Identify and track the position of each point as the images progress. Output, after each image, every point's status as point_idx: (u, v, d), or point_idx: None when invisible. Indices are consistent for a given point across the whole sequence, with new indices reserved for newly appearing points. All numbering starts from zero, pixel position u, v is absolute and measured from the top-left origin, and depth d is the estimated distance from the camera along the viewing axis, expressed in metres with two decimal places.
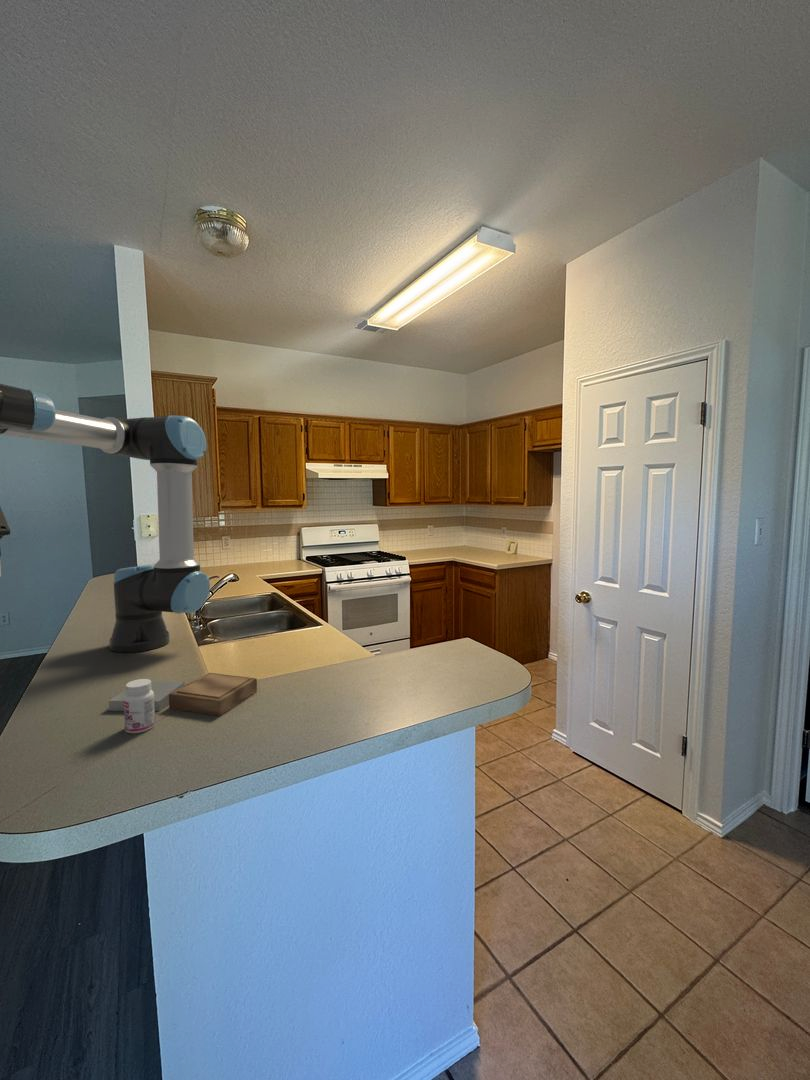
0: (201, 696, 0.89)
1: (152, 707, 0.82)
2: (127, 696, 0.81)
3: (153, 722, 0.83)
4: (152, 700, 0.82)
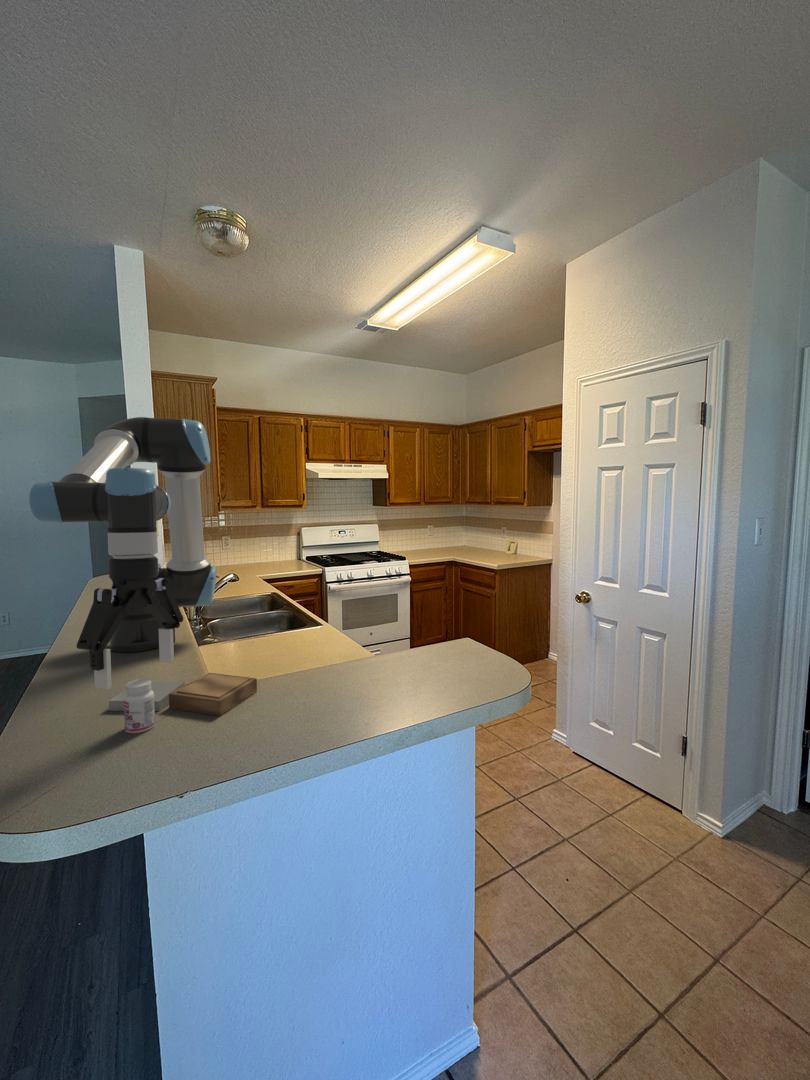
0: (201, 696, 0.89)
1: (152, 707, 0.82)
2: (127, 696, 0.81)
3: (153, 722, 0.83)
4: (152, 700, 0.82)
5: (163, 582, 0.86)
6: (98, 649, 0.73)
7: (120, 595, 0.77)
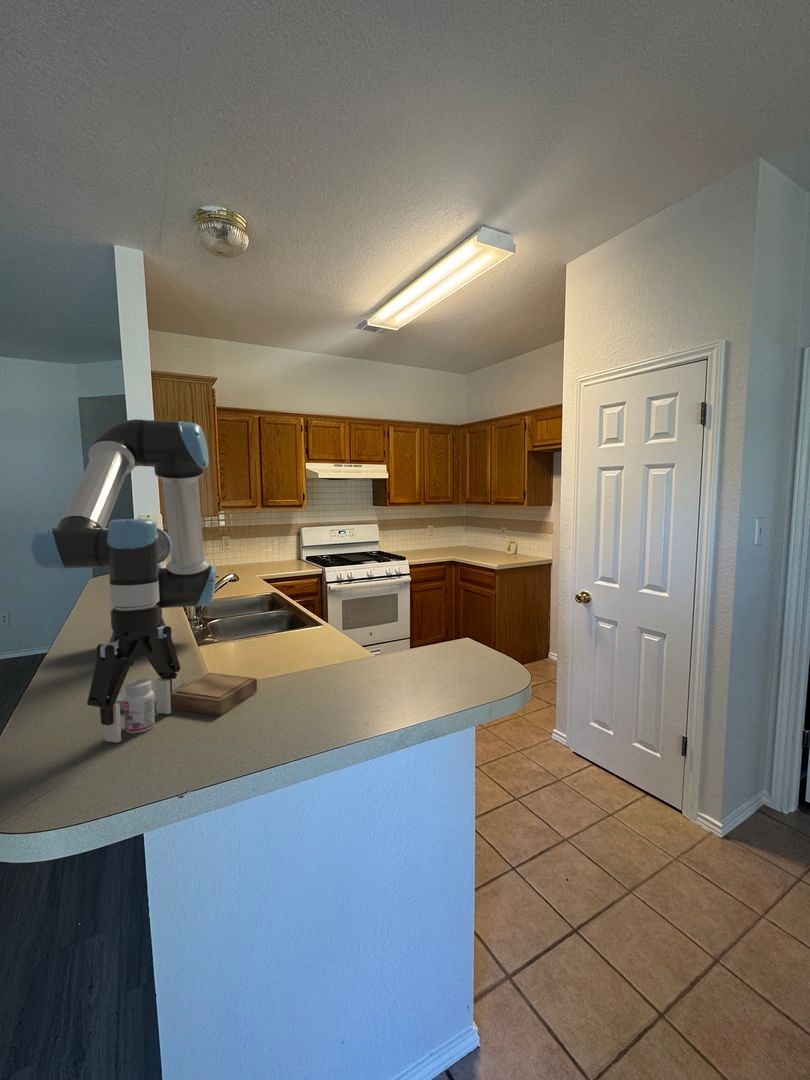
0: (201, 696, 0.89)
1: (152, 707, 0.82)
2: (127, 696, 0.81)
3: (153, 722, 0.83)
4: (152, 700, 0.82)
5: (165, 630, 0.87)
6: (108, 705, 0.75)
7: (123, 647, 0.78)
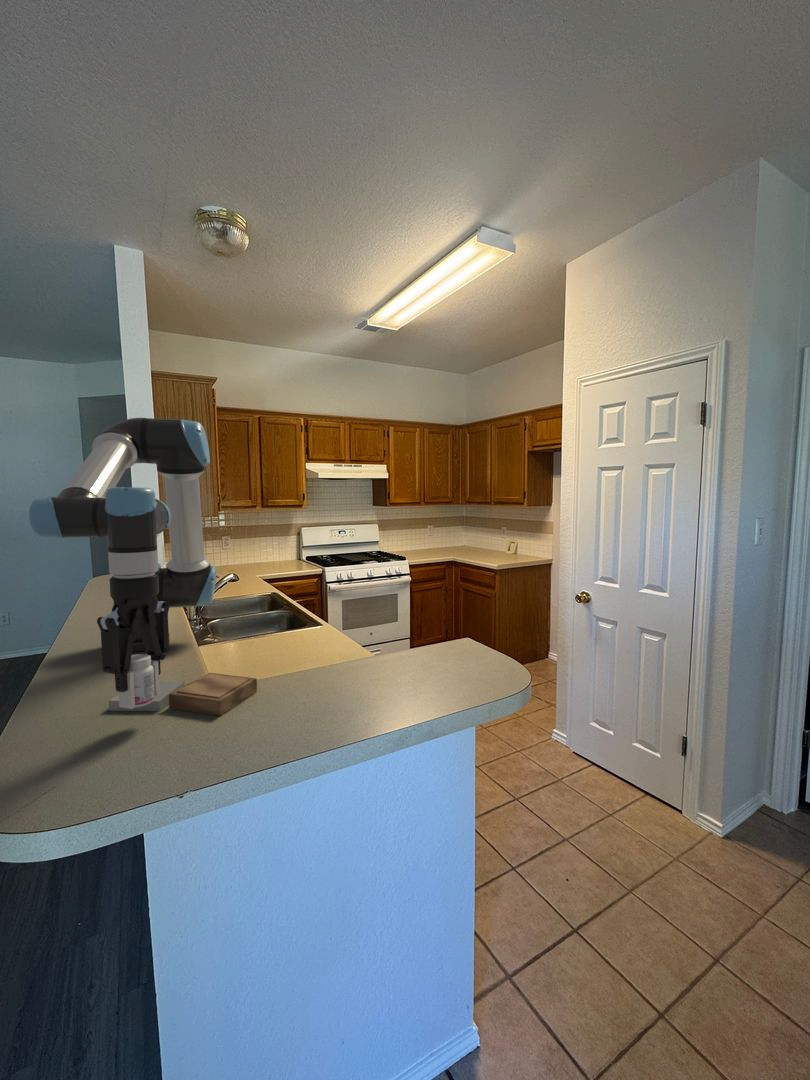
0: (201, 696, 0.89)
1: (152, 682, 0.83)
2: None
3: (153, 697, 0.83)
4: (152, 675, 0.83)
5: (163, 604, 0.86)
6: (123, 673, 0.78)
7: (123, 616, 0.78)
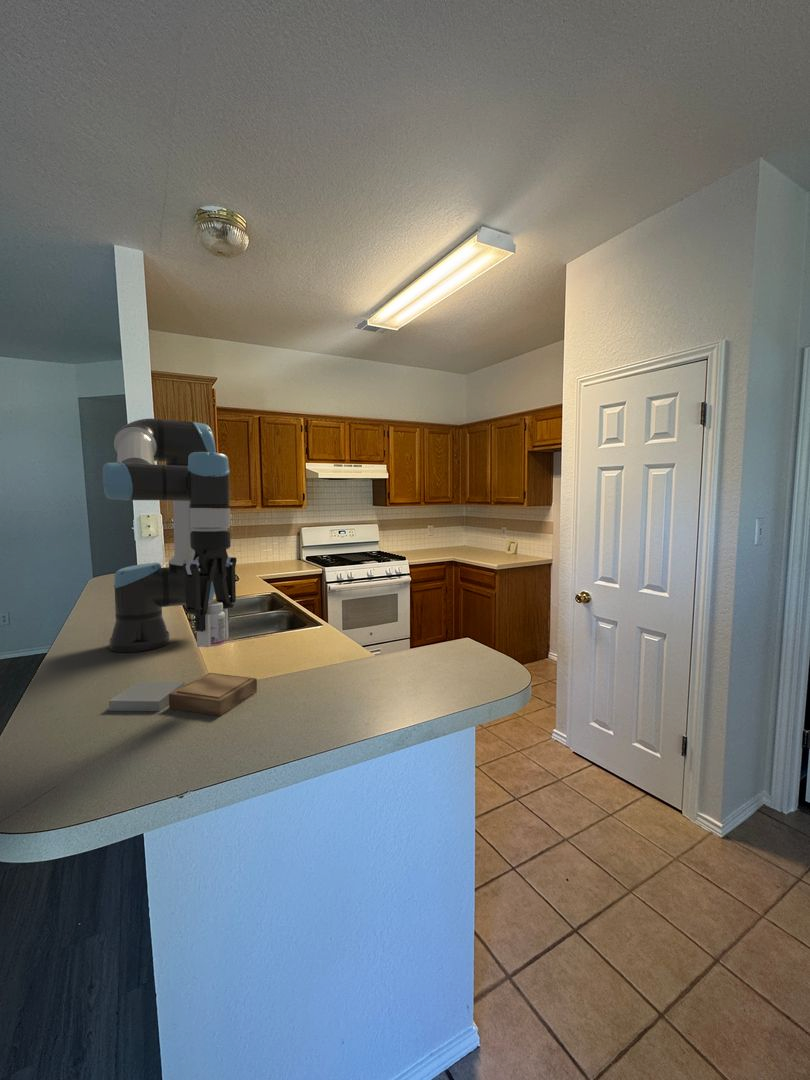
0: (201, 696, 0.89)
1: (224, 625, 0.94)
2: None
3: (224, 639, 0.94)
4: (224, 619, 0.94)
5: (232, 559, 0.98)
6: (203, 614, 0.89)
7: (203, 564, 0.89)
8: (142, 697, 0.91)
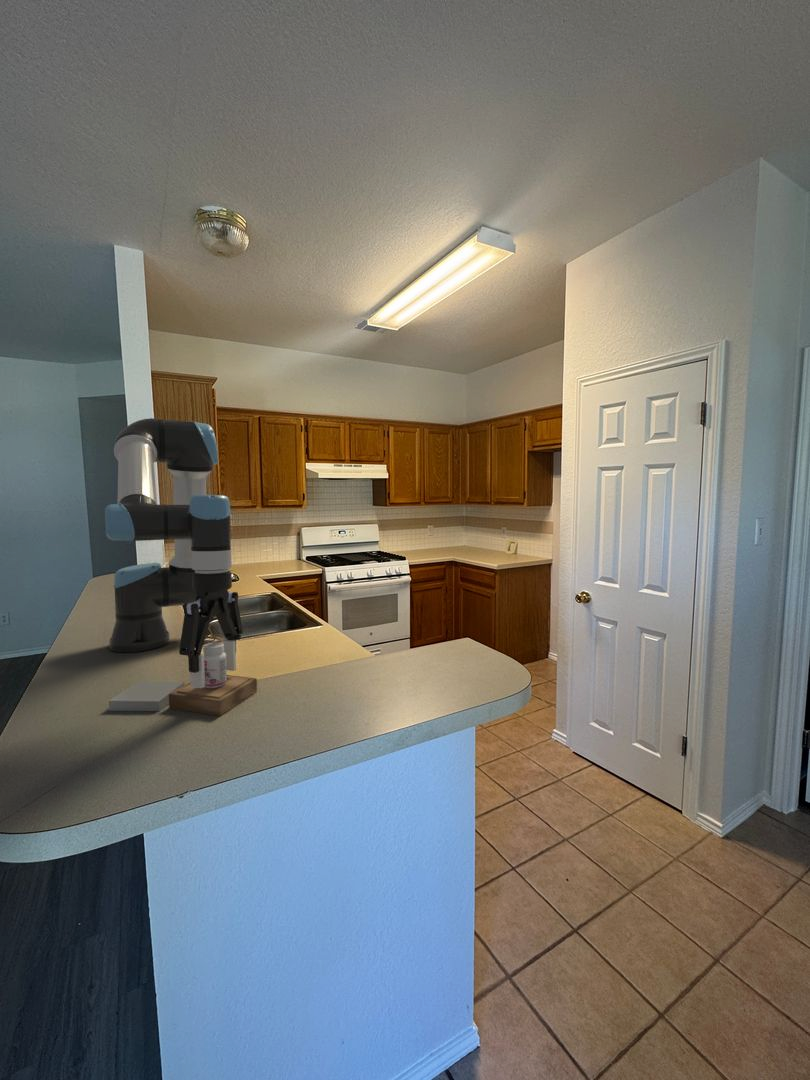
0: (201, 696, 0.89)
1: (225, 666, 0.94)
2: (205, 656, 0.93)
3: (226, 679, 0.95)
4: (225, 660, 0.94)
5: (233, 595, 0.98)
6: (196, 655, 0.88)
7: (204, 605, 0.89)
8: (142, 697, 0.91)
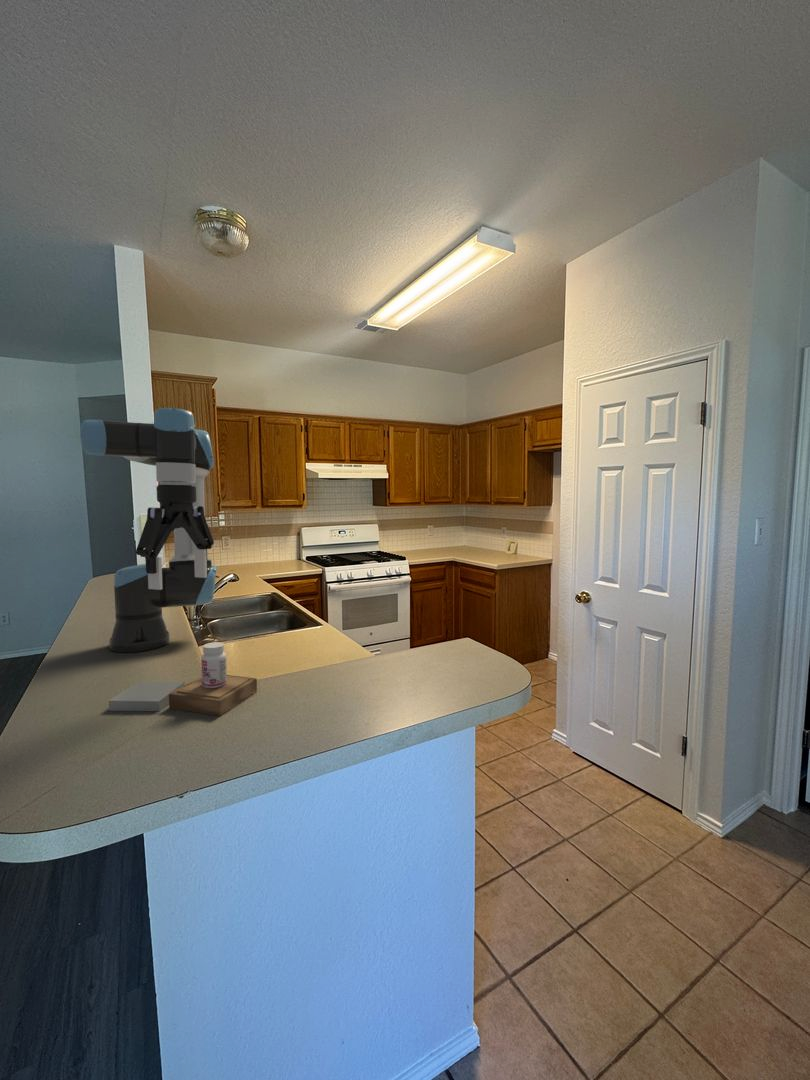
0: (201, 696, 0.89)
1: (225, 666, 0.94)
2: (205, 656, 0.93)
3: (226, 679, 0.95)
4: (225, 660, 0.94)
5: (198, 509, 1.02)
6: (152, 556, 0.89)
7: (167, 514, 0.93)
8: (142, 697, 0.91)
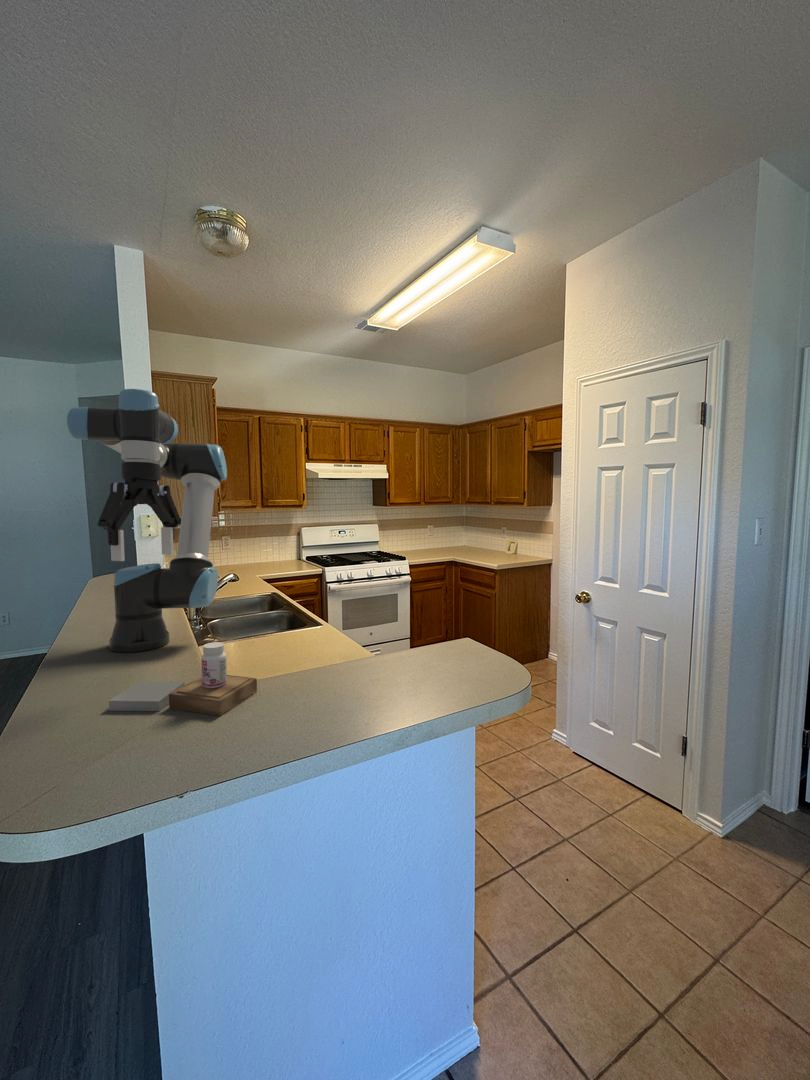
0: (201, 696, 0.89)
1: (225, 666, 0.94)
2: (205, 656, 0.93)
3: (226, 679, 0.95)
4: (225, 660, 0.94)
5: (164, 488, 1.06)
6: (114, 528, 0.94)
7: (131, 490, 0.97)
8: (142, 697, 0.91)
